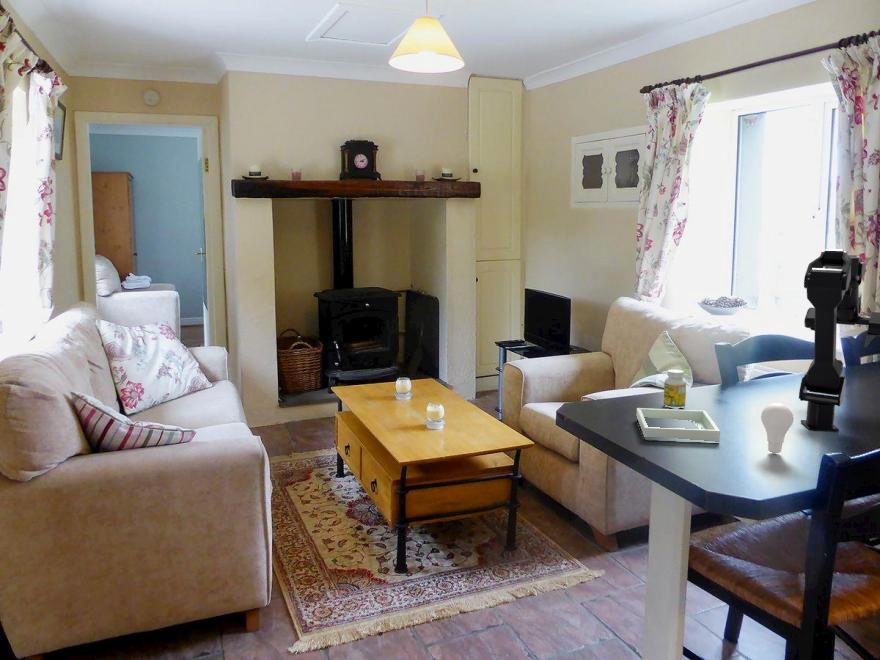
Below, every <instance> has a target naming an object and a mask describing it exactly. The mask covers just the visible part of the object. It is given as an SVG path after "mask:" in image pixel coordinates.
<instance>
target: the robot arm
mask: <svg viewBox="0 0 880 660" xmlns="http://www.w3.org/2000/svg"><path fill="white" fill-rule="evenodd" d="M866 271H867V268H866V264H865V262H864V261H863V260H862V257H858V256H857V254H848V250H845V249H837V248H836V249H831V248H826V249H823V250H821V253H820V256H818V257H816V259H814V260H812V261H811V262H809V264H808V266H807V269H806V271H805V275H804V278H803V279H804V280H803V288H804V289H806V299H807V300H808V302H809V303H810V304H811V305H812V307H809V308H808V309H807V311H806V314H805V317H804V321H803V322H804V323H803V324H804V327H805V328H806V329H810V331H814V358H813V359H812V362H811V363H810V364H809V367H808V369H807V371H805V374H804V376H803V377H802V378H801V382H800V385H799V391H798V393H799V394H798V399H799V401H802V402H803V401H804V402H807V407H806V408H807V409H806V416H805V417H806V419H801V420H800V423H801V424H802V425H804V427H806V428H807V429H808V430H811V431H836V432H837V431H840V428H839V427H837V426H836V425H835V424H834V423H835V410H836V407H841V406H842V404H843V402H844V397H845V391H846V386H847V384H846V383H847V377H846V376H844V363H843V361H842V360H840V359H837V358H836V357H837V356H836V355H837V325H848V326H855V325H863V326H867V327H868V328H867V332H866V337H865V342H864V348H867V347H868V346H869V345H870V343H871V341H872V340H873V339H874V338H875V337H880V312H877V311H872V312H871V313H870V316H865V315H859V314H861V311H862V292H860V291H859V289H860V288H859V286H860V285H861V283H862V282H863V281H862V280H863V277H864V276H865V274H866Z"/></svg>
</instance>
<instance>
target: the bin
mask: <svg viewBox="0 0 880 660" xmlns="http://www.w3.org/2000/svg"><path fill="white" fill-rule="evenodd" d="M636 416H637V419H638V421H639V424H640V426H641V429H642V431H643V434H644V437H664V438H678V439H690V440H704V441H715V442H719V443H720V439H721V430H720V429H719V428H718V426H717V424H716V423H715V422H714V420H713V419H712V418H711V417H710V414H708V412H707V411H706V410H701V409H669V408H650V407H649V408H647V407H646V408H645V407H643V408H642V407H637V408H636ZM644 417H648V418H665V419H678V420H688V421H689V420H692V421H691V422H692V424H693V421H695V425H696V426H697V423H698V428H699V429H685V428H660V427H648V425H647V423H646V421H645V418H644ZM701 427H702V428H703V429H701Z"/></svg>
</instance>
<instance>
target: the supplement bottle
mask: <svg viewBox="0 0 880 660" xmlns="http://www.w3.org/2000/svg"><path fill="white" fill-rule="evenodd" d="M684 377H685V371H684V370H681V369H668V370H667V377H666V378H665V379H664V386H663V388H664V389H663V405H664V404H665V405H667V406H671V407H680V408H681V407H686V399H687V398H686V396H687V391H686V390H687V381H686V379H685V378H684Z"/></svg>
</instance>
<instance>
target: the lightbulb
mask: <svg viewBox="0 0 880 660" xmlns="http://www.w3.org/2000/svg"><path fill="white" fill-rule="evenodd" d="M760 419H761V420H760V421H761V422H762V425H763V426H764V429H765V432H766V438H767V439H766V441H767V451H769V452H770V453H771V452H772V453H777V454H779V453H781V452H782V449H783V448H782V447H783V443H784V442H785V438H786V434H787V432H788V431H789V430H790V428H791V427H792V425H793V424H794V423H793V422H794V414H793V412H792V410H791V408H789V407H788V406H787V405H785V404H783V403H781V402H780V403H779V402H775V403H774V402H773V403H770V404H768V405H767V406H766V407H764V408H763V409H762V411H761V415H760ZM772 453H771V454H772Z"/></svg>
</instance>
